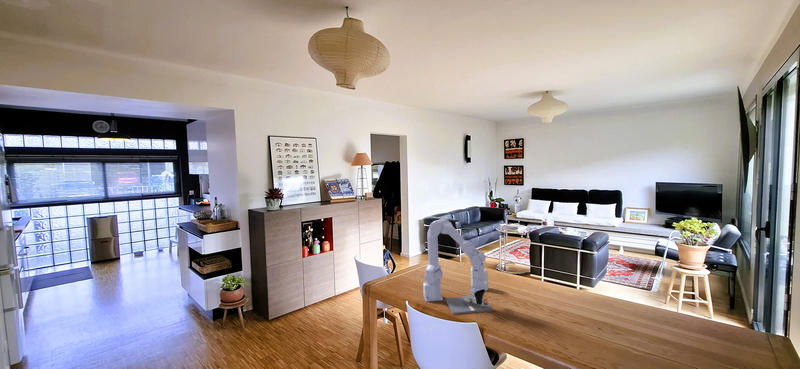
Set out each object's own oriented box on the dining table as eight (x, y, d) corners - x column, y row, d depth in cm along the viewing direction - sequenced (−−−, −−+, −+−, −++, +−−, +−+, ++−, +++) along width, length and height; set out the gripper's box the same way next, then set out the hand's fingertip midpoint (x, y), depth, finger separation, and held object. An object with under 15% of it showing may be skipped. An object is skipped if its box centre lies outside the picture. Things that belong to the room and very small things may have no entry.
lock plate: (452, 314, 152) (452, 310, 152) (445, 300, 168) (445, 296, 168) (493, 310, 154) (493, 306, 154) (481, 297, 170) (481, 293, 170)
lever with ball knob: (461, 302, 160) (461, 297, 160) (464, 298, 164) (464, 293, 164) (486, 306, 154) (486, 301, 154) (489, 302, 158) (489, 297, 158)
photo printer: (470, 286, 184) (469, 266, 184) (474, 284, 187) (473, 264, 186) (484, 291, 176) (484, 270, 176) (489, 289, 179) (488, 268, 178)
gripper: (479, 283, 147) (480, 311, 148) (492, 274, 158) (493, 300, 159) (465, 280, 152) (466, 307, 153) (479, 271, 163) (480, 297, 164)
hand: (479, 303), depth 156 cm, fingers closed, pressing on lever with ball knob
